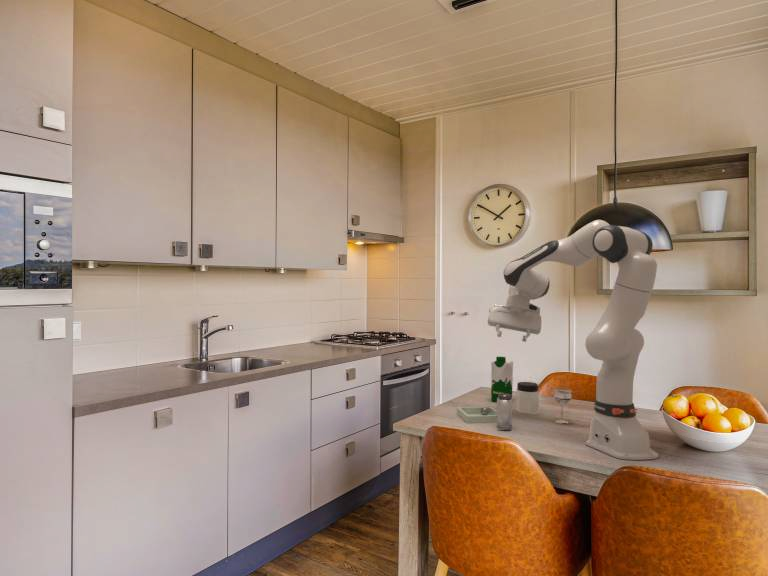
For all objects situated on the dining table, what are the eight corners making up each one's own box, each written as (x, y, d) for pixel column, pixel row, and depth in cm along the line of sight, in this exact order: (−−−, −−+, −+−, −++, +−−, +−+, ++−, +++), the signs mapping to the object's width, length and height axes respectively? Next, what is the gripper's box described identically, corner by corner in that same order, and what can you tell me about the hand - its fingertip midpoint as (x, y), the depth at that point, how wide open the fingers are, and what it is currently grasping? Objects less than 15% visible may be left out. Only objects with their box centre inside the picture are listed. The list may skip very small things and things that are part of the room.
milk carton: (488, 401, 231) (489, 356, 231) (495, 398, 239) (496, 354, 238) (507, 404, 226) (508, 358, 226) (514, 400, 234) (515, 356, 234)
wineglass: (557, 418, 204) (557, 388, 204) (574, 422, 199) (574, 390, 199) (549, 421, 199) (550, 390, 199) (566, 425, 194) (567, 393, 194)
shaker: (514, 431, 186) (514, 396, 185) (499, 431, 185) (500, 396, 185) (508, 427, 191) (509, 393, 191) (494, 427, 190) (494, 393, 190)
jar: (527, 416, 206) (528, 386, 206) (511, 412, 213) (512, 383, 213) (542, 413, 211) (543, 384, 211) (526, 409, 218) (527, 380, 218)
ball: (489, 415, 203) (490, 408, 203) (482, 416, 203) (482, 408, 203) (487, 414, 206) (487, 406, 206) (480, 414, 206) (480, 406, 206)
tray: (503, 424, 194) (503, 415, 194) (467, 425, 192) (467, 416, 192) (490, 414, 208) (491, 406, 208) (456, 415, 206) (456, 407, 206)
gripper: (490, 299, 206) (484, 329, 199) (544, 308, 200) (539, 339, 193) (490, 308, 211) (484, 337, 204) (542, 317, 206) (537, 347, 198)
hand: (511, 338), depth 198 cm, fingers open, 8 cm apart
